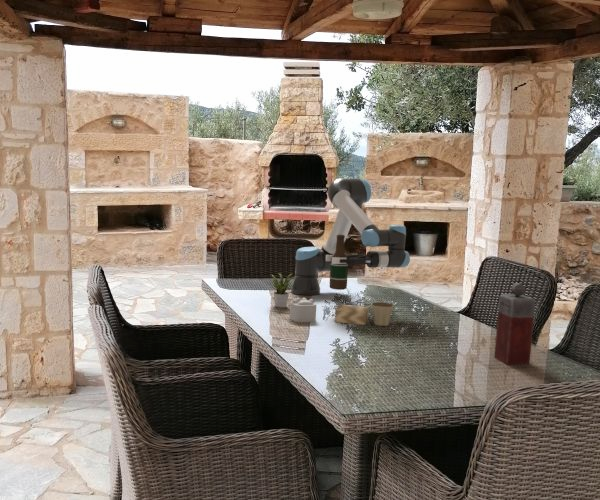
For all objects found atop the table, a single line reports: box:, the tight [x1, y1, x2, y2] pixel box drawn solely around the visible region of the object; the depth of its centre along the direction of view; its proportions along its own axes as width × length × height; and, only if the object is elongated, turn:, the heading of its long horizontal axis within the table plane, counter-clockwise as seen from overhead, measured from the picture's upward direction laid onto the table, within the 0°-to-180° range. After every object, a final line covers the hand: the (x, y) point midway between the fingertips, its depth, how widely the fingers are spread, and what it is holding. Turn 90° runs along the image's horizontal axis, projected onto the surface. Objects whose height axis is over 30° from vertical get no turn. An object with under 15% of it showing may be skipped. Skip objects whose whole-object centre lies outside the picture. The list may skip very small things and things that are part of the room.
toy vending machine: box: [493, 282, 536, 366], centre depth 236 cm, size 9×11×28 cm
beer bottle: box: [329, 235, 349, 291], centre depth 296 cm, size 8×8×24 cm
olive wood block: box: [334, 303, 370, 326], centre depth 288 cm, size 13×13×5 cm
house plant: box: [269, 272, 298, 308], centre depth 309 cm, size 14×14×16 cm
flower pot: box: [371, 301, 395, 327], centre depth 282 cm, size 9×9×9 cm
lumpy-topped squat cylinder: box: [289, 297, 317, 323], centre depth 286 cm, size 10×13×9 cm
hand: (329, 259), depth 294 cm, fingers closed on beer bottle, 7 cm apart
